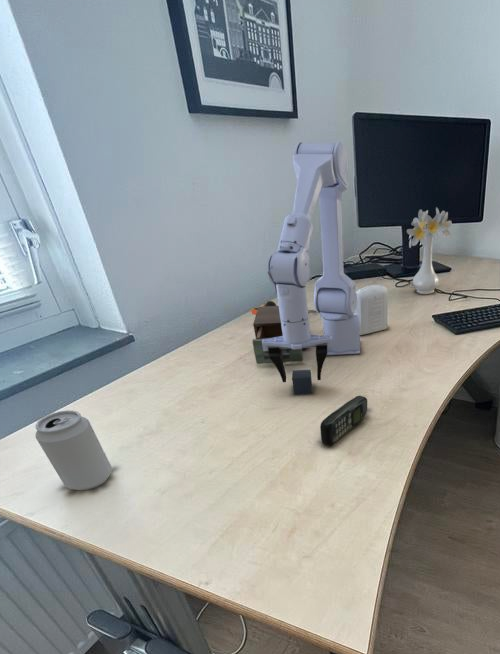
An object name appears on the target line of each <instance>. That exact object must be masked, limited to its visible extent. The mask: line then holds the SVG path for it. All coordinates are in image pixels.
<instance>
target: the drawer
mask: <svg viewBox="0 0 500 654" xmlns="http://www.w3.org/2000/svg"><path fill="white" fill-rule="evenodd" d="M280 336H283V334H282V327H281V326H263V327H259V331H258V334H257V339H256V338H253V339H252V341H251V342H252V346H253V352H254V357H255V362H256V365H261V364H274V363H273V362H272V360H271V359H270V358H269V350H268V351H263V347H262V340H263V339H268V338H274V337H280ZM282 354H283V363H297V362H298V363H300V362H304V358H303V357H304V356H303V350H302V349H292V348H291V349H282Z"/></svg>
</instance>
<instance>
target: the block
mask: <svg viewBox="0 0 500 654" xmlns="http://www.w3.org/2000/svg"><path fill="white" fill-rule="evenodd" d="M291 380H292V388H293V395H294V396H296V395H312V394H313V380H312V370H311V369H296V370H292V375H291Z"/></svg>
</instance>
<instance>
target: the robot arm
mask: <svg viewBox="0 0 500 654" xmlns="http://www.w3.org/2000/svg"><path fill="white" fill-rule="evenodd" d="M348 157H349V156H348V153H347V149H346V148H345V146H344V144H343V143H342V142H341V141H337V142H301V141H299V142H297V143H296V144H295V146H294V149H293V153H292V164H293V170H294V174H295V177H296V186H295V192H294V200H293V206H292V211H291V213H289V214H288V215H286V216H285V217H284V221H283V225H282V230H281V233H280V237H279V241H278V246H277V250H276V251H275V252H274V253H273V254H271V255H270V256H269V258H268V261H267V277H268V279H269V282H270V283H271V285H272V289H273V290H272V291H273V293H274V295H276V297H277V306H279V313H280V319H281V327H282V334H283V336H280V337H274V338H268V339H263V340H262V347H263V351H268V350H269V358H270V359H271V360H272V362H273V363H272V364H274V366H275V367H276V369H277V371H278V373H279V375H280V378H281V380H282V383H287V373H286V368H285V362H283V354H282V349H291V348H292V349H302V348H306V349H308V348H309V349H310V348H315V359H316V360H315V361H316V378H317V381H321V380H322V371H323V366H324V363H325V360H326V358H327V356H337V355H338V356H339V355H340V356H341V355H357V354H361V346H360V345H361V335H359V319H358V315H354V313H355V311H356V308H357V294H356V291H357V289H356V284H355V283H356V282H355V281H354V280H353V279H352V278H350V277H349V276H348V275H347V274H346V273H345V272H344V271H345V270H344V240H343V239H344V238H343V202H342V201H343V199H342V198H343V193H344V192H345V191H347V190H348V189H349V158H348ZM318 200H319V215H320V216H319V219H320V237H321V254H322V255H321V256H322V272H323V274H322V276H320V277H319V278H318V279H317V280H316V281H315V283H314V293H313V307H314V309H315V311H316V313H318V314H319V317H320V318H321V319H322V329H323V330H322V331H323V334H312V333H311V327H310V316H309V311H308V310H309V306H308V297H307V288H306V285H308V282H309V279H310V262H311V257H310V256H309V253H310V249H311V244H312V239H313V236H314V232H315V228H314V225H313V222H312V217H313V213H314V210H315V208H316V205H317V202H318Z"/></svg>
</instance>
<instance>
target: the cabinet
mask: <svg viewBox="0 0 500 654" xmlns="http://www.w3.org/2000/svg"><path fill="white" fill-rule="evenodd" d="M257 308H258V310H257V313H256V315H255V317H254V319H253V324H252V325H253V331H254V336H255V339H257V334H258V331H259V327H263V326H281V319H280V313H279V306H278V305H276V306H263V307H262V306H258V307H257ZM306 350H307V348H302V351H306Z"/></svg>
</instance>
